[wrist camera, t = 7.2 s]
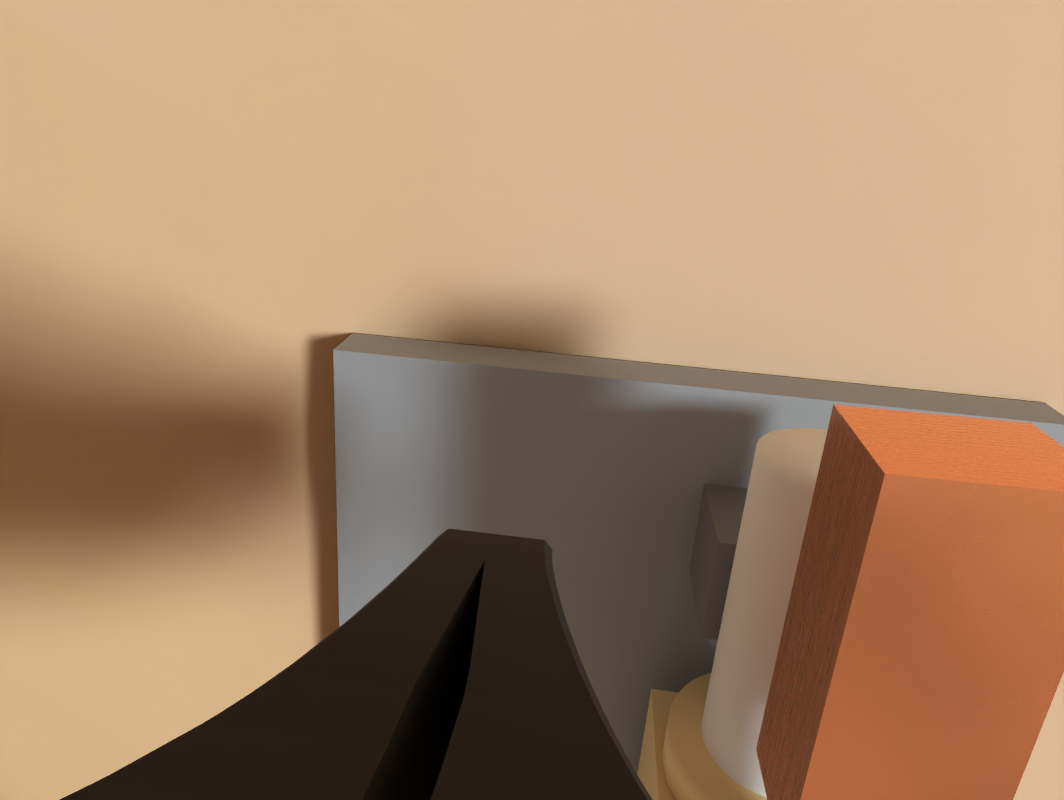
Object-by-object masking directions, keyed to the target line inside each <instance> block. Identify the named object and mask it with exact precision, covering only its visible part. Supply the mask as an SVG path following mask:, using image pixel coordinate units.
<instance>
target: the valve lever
mask: <svg viewBox="0 0 1064 800" xmlns="http://www.w3.org/2000/svg"><path fill="white" fill-rule="evenodd" d="M1063 672H1064V447H1063V446H1061V445H1060V444H1059V443H1057V442H1056V441H1055V440H1053V439H1052V438H1051V437H1049V436H1048V435H1047V434H1045V433H1044V432H1043V431H1041V430H1040V429H1039V428H1037V427H1036V426H1035V425H1033V424H1032V423H1025V422H1014V421H1004V420H993V419H983V418H972V417H961V416H951V415H940V414H930V413H919V412H909V411H898V410H888V409H877V408H867V407H856V406H846V405H835V404H833V408H832V413H831V417H830V422H829V426H828V430H827V435H826V439H825V444H824V448H823V453H822V457H821V462H820V466H819V471H818V475H817V480H816V484H815V488H814V493H813V497H812V502H811V506H810V511H809V515H808V520H807V524H806V529H805V533H804V538H803V542H802V546H801V551H800V555H799V560H798V564H797V569H796V573H795V578H794V582H793V587H792V591H791V596H790V600H789V604H788V609H787V613H786V618H785V622H784V627H783V631H782V636H781V640H780V645H779V649H778V654H777V658H776V662H775V667H774V671H773V676H772V680H771V685H770V689H769V694H768V698H767V703H766V707H765V711H764V716H763V720H762V725H761V729H760V734H759V738H758V743H757V747H756V751H757V756H758V760H759V765H760V769H761V774H762V778H763V783H764V787H765V792H766V796H767V800H1013V798H1014V795H1015V793H1016V790H1017V788H1018V785H1019V783H1020V780H1021V778H1022V775H1023V773H1024V770H1025V768H1026V765H1027V763H1028V760H1029V758H1030V755H1031V753H1032V750H1033V747H1034V745H1035V742H1036V740H1037V737H1038V735H1039V732H1040V730H1041V727H1042V725H1043V722H1044V720H1045V717H1046V715H1047V712H1048V710H1049V707H1050V705H1051V702H1052V700H1053V697H1054V694H1055V692H1056V689H1057V687H1058V684H1059V682H1060V679H1061V677H1062V674H1063Z"/></svg>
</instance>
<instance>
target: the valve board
mask: <svg viewBox="0 0 1064 800" xmlns="http://www.w3.org/2000/svg"><path fill="white" fill-rule="evenodd" d="M333 367H334V412H335V457H336V502H337V548H338V593H339V627H340V626H341V625H343V624H344V623H345V622H346V621H348V620H349V619H350V618H351V617H352V616H353V615H355V614H356V613H357V612H358V611H359V610H360V609H361V608H363V607H364V606H365V605H366V604H367V603H368V602H369V601H371V600H372V599H373V598H374V597H375V596H376V595H377V594H378V593H380V592H381V591H382V590H383V589H384V588H385V587H386V586H387V585H389V584H390V583H391V582H392V581H393V580H394V579H395V578H396V577H397V576H398V575H399V574H400V573H401V572H402V571H404V570H405V569H406V568H407V567H408V566H409V565H410V564H411V563H412V562H413V561H414V560H415V559H416V558H417V557H418V556H419V555H420V554H421V553H422V552H423V551H424V550H425V549H426V548H427V547H428V546H429V545H430V544H431V543H432V542H433V541H434V540H435V539H436V538H437V537H438V536H439V535H441V534H442V533H443V532H445V531H446V530H447V529H457V530H466V531H474V532H483V533H491V534H499V535H508V536H516V537H525V538H533V539H541V540H545V541H546V542H547V543H548V544H549V546H550V547H551V548H552V549H553V550H552V562H553V570H554V576H555V581H556V586H557V589H558V593H559V597H560V601H561V605H562V608H563V611H564V614H565V618H566V621H567V624H568V626H569V629H570V632H571V635H572V637H573V640H574V643H575V646H576V648H577V651H578V654H579V657H580V659H581V662H582V664H583V666H584V669H585V671H586V674H587V676H588V678H589V681H590V683H591V685H592V687H593V689H594V692H595V694H596V696H597V698H598V700H599V703H600V705H601V707H602V709H603V711H604V713H605V715H606V717H607V719H608V721H609V723H610V725H611V727H612V729H613V731H614V733H615V735H616V737H617V739H618V741H619V743H620V745H621V746H622V748H623V750H624V752H625V754H626V755H627V757H628V759H629V761H630V762H631V764H632V766H633V768H634V770H635V771H636V773H637V775H638V777H639V778H640V780H641V782H642V783H643V785H644V787H645V788H646V790H647V792H648V793H649V795H650V796H651V798H652V800H767V796H766V792H765V787H764V783H763V778H762V774H761V769H760V765H759V760H758V756H757V751H756V747H757V743H758V738H759V734H760V729H761V725H762V720H763V716H764V711H765V707H766V703H767V698H768V694H769V689H770V685H771V680H772V676H773V671H774V667H775V662H776V658H777V654H778V649H779V645H780V640H781V636H782V631H783V627H784V622H785V618H786V613H787V609H788V604H789V600H790V596H791V591H792V587H793V582H794V578H795V573H796V569H797V564H798V560H799V555H800V551H801V546H802V542H803V538H804V533H805V529H806V524H807V520H808V515H809V511H810V506H811V502H812V497H813V493H814V488H815V484H816V480H817V475H818V471H819V466H820V462H821V457H822V453H823V448H824V444H825V439H826V435H827V430H828V426H829V422H830V417H831V413H832V408H833V404H835V405H846V406H856V407H867V408H877V409H888V410H898V411H909V412H919V413H930V414H940V415H951V416H961V417H972V418H983V419H993V420H1004V421H1014V422H1025V423H1032V424H1033V425H1035V426H1036V427H1037V428H1039V429H1040V430H1041V431H1043V432H1044V433H1045V434H1047V435H1048V436H1049V437H1051V438H1052V439H1053V440H1055V441H1056V442H1057V443H1059V444H1060V445H1061V446H1063V447H1064V416H1063V415H1062V414H1060V413H1059V412H1057V411H1056V410H1055V409H1053V408H1052V407H1050V406H1049V405H1047V404H1046V403H1042V402H1032V401H1022V400H1012V399H1002V398H993V397H983V396H973V395H963V394H953V393H943V392H933V391H923V390H913V389H903V388H893V387H883V386H873V385H864V384H854V383H844V382H834V381H824V380H814V379H804V378H794V377H784V376H774V375H764V374H754V373H744V372H735V371H725V370H715V369H705V368H695V367H685V366H675V365H665V364H655V363H645V362H635V361H625V360H615V359H606V358H596V357H586V356H576V355H566V354H556V353H546V352H536V351H526V350H516V349H506V348H496V347H486V346H476V345H467V344H457V343H447V342H437V341H427V340H417V339H407V338H397V337H387V336H377V335H367V334H357V333H352V334H351V335H350V336H349V337H347V338H346V339H345V340H344V341H343V342H342V343H340V344H339V345H338V346H337V347H336V348H335V349H333Z"/></svg>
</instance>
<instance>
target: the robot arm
mask: <svg viewBox="0 0 1064 800" xmlns="http://www.w3.org/2000/svg"><path fill="white" fill-rule="evenodd" d="M552 550H553V549H552V548H551V547H550V546H549V544H548V543H547V542H546V541H545V540H541V539H533V538H525V537H516V536H508V535H499V534H491V533H483V532H474V531H466V530H457V529H447V530H446V531H445V532H443V533H442V534H441V535H439V536H438V537H437V538H436V539H435V540H434V541H433V542H432V543H431V544H430V545H429V546H428V547H427V548H426V549H425V550H424V551H423V552H422V553H421V554H420V555H419V556H418V557H417V558H416V559H415V560H414V561H413V562H412V563H411V564H410V565H409V566H408V567H407V568H406V569H405V570H404V571H402V572H401V573H400V574H399V575H398V576H397V577H396V578H395V579H394V580H393V581H392V582H391V583H390V584H389V585H387V586H386V587H385V588H384V589H383V590H382V591H381V592H380V593H378V594H377V595H376V596H375V597H374V598H373V599H372V600H371V601H369V602H368V603H367V604H366V605H365V606H364V607H363V608H361V609H360V610H359V611H358V612H357V613H356V614H355V615H353V616H352V617H351V618H350V619H349V620H348V621H346V622H345V623H344V624H343V625H341V626H340V627H339V628H338V629H336V630H335V631H334V632H333V633H331V634H330V635H329V636H327V637H326V638H325V639H324V640H322V641H321V642H320V643H319V644H317V645H316V646H315V647H313V648H312V649H311V650H310V651H308V652H307V653H306V654H305V655H303V656H302V657H301V658H299V659H298V660H297V661H296V662H294V663H293V664H291V665H290V666H289V667H287V668H286V669H285V670H283V671H282V672H280V673H279V674H278V675H276V676H275V677H273V678H272V679H271V680H269V681H268V682H266V683H265V684H263V685H262V686H261V687H259V688H258V689H256V690H255V691H253V692H252V693H250V694H249V695H247V696H246V697H244V698H243V699H241V700H239V701H238V702H236V703H235V704H233V705H232V706H230V707H229V708H227V709H225V710H224V711H222V712H221V713H219V714H218V715H216V716H214V717H213V718H211V719H209V720H208V721H206V722H204V723H203V724H201V725H199V726H197V727H196V728H194V729H192V730H190V731H188V732H186V733H185V734H183V735H181V736H179V737H177V738H176V739H174V740H172V741H170V742H168V743H167V744H165V745H163V746H161V747H159V748H158V749H156V750H154V751H152V752H150V753H149V754H147V755H145V756H143V757H141V758H140V759H138V760H136V761H134V762H132V763H131V764H129V765H127V766H125V767H123V768H122V769H120V770H118V771H116V772H114V773H112V774H111V775H109V776H107V777H105V778H103V779H101V780H99V781H97V782H95V783H93V784H91V785H89V786H87V787H85V788H83V789H81V790H79V791H77V792H75V793H72V794H70V795H68V796H66V797H64V798H62V799H60V800H652V798H651V796H650V795H649V793H648V792H647V790H646V788H645V787H644V785H643V783H642V782H641V780H640V778H639V777H638V775H637V773H636V771H635V770H634V768H633V766H632V764H631V762H630V761H629V759H628V757H627V755H626V754H625V752H624V750H623V748H622V746H621V745H620V743H619V741H618V739H617V737H616V735H615V733H614V731H613V729H612V727H611V725H610V723H609V721H608V719H607V717H606V715H605V713H604V711H603V709H602V707H601V705H600V703H599V700H598V698H597V696H596V694H595V692H594V689H593V687H592V685H591V683H590V681H589V678H588V676H587V674H586V671H585V669H584V666H583V664H582V662H581V659H580V657H579V654H578V651H577V648H576V646H575V643H574V640H573V637H572V635H571V632H570V629H569V626H568V624H567V621H566V618H565V614H564V611H563V608H562V605H561V601H560V597H559V593H558V589H557V586H556V581H555V576H554V570H553V562H552Z"/></svg>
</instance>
